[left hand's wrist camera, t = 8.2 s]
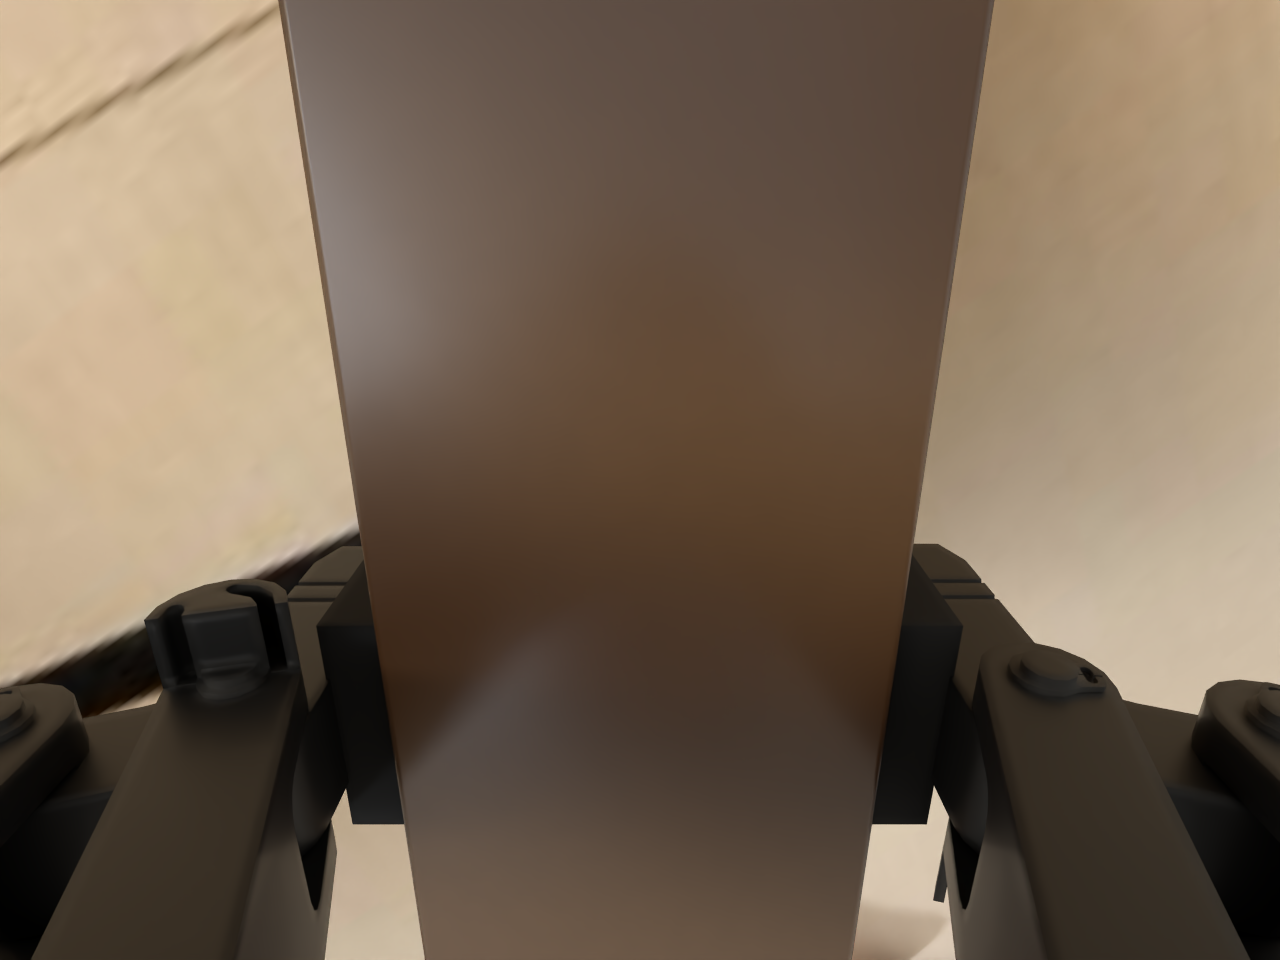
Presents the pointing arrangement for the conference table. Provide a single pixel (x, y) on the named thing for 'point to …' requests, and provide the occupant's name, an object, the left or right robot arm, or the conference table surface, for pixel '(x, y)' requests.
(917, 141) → the plank
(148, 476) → the conference table surface
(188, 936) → the left robot arm
